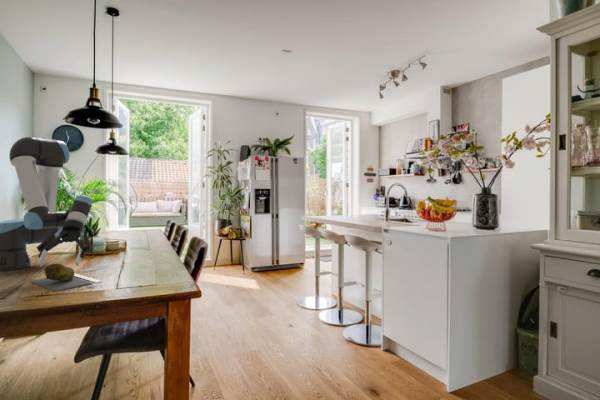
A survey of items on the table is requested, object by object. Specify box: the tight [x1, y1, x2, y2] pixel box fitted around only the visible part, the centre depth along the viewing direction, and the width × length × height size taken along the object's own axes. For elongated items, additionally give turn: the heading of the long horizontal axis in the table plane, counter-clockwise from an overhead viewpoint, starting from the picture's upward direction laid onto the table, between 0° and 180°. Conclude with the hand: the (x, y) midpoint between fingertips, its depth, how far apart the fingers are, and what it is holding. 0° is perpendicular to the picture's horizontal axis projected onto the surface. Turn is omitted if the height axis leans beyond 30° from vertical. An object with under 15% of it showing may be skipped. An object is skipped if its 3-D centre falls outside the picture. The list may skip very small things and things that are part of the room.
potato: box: [44, 263, 75, 281], centre depth 143 cm, size 8×13×8 cm, turn 159°
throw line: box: [74, 272, 103, 284], centre depth 151 cm, size 24×2×1 cm, turn 57°
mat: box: [29, 277, 93, 292], centre depth 143 cm, size 24×13×1 cm, turn 57°
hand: (58, 264), depth 141 cm, fingers open, 13 cm apart
